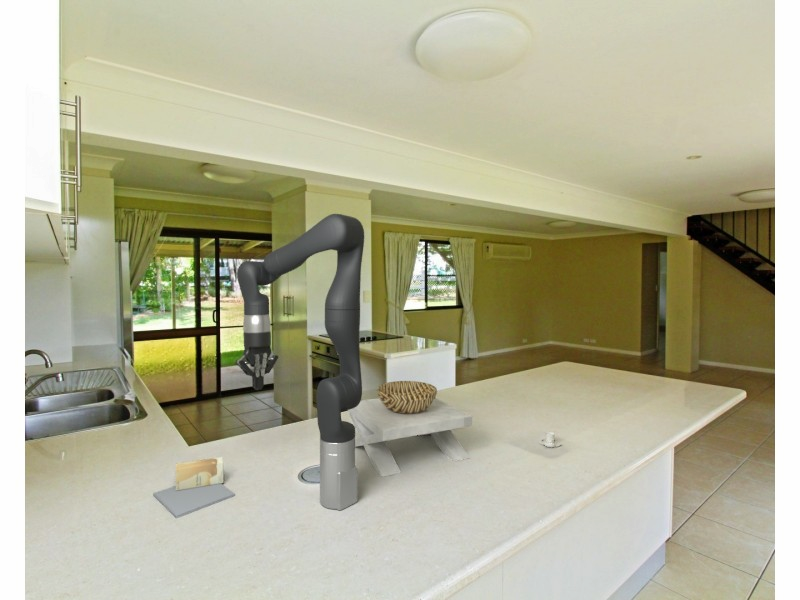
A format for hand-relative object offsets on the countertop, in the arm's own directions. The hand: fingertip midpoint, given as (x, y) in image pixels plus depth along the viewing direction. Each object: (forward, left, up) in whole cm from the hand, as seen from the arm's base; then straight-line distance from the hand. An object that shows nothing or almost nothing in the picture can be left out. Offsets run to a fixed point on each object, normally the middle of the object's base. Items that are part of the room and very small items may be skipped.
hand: (258, 389), depth 125 cm
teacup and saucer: (-49, -84, -27) cm, 101 cm away
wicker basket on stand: (-17, -46, -27) cm, 56 cm away
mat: (+3, +17, -27) cm, 32 cm away
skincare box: (+5, +8, -23) cm, 25 cm away
